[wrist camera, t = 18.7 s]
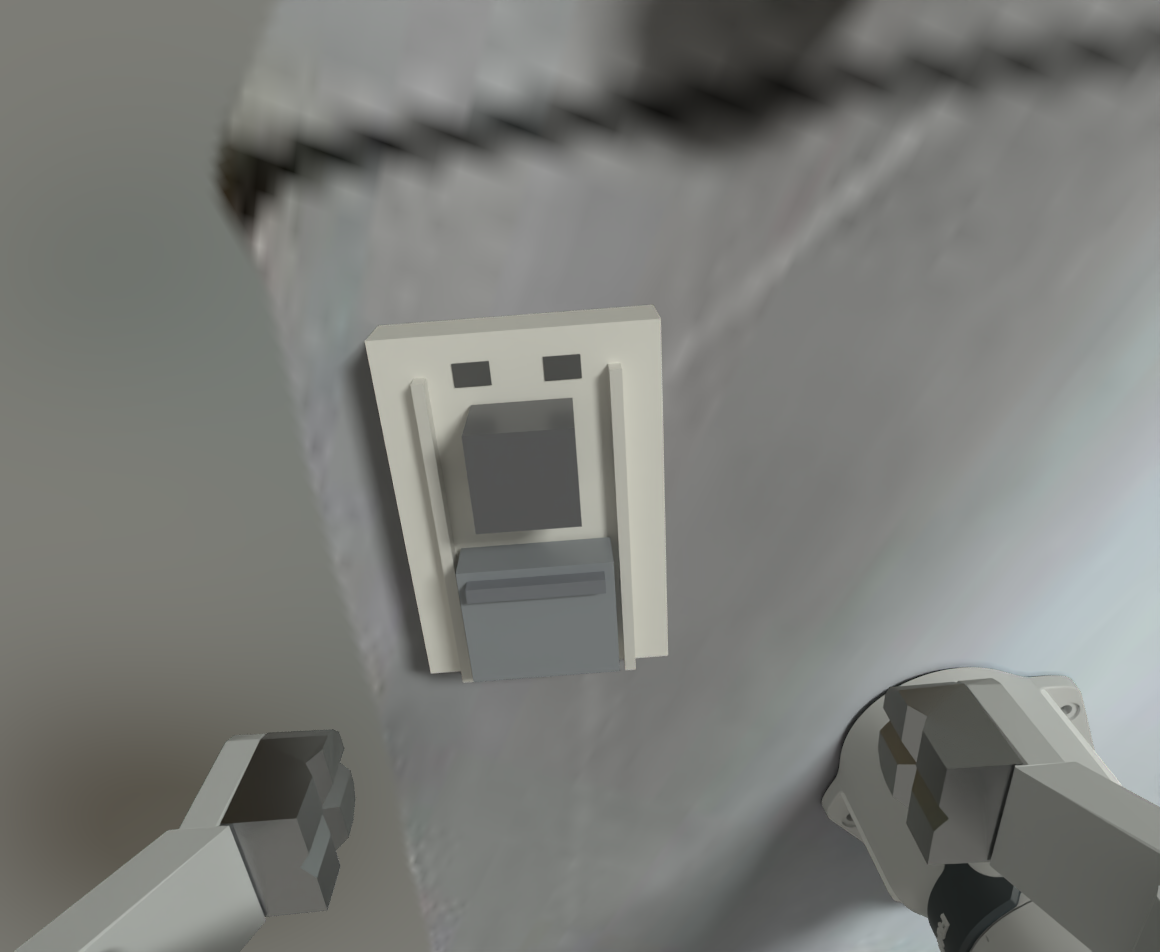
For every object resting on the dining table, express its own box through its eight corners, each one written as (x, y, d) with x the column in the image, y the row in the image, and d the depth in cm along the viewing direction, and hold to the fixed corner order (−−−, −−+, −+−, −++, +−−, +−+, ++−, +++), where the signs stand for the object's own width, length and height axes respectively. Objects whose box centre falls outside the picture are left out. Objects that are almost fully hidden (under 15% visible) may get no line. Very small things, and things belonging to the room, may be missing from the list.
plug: (577, 463, 41) (581, 526, 35) (488, 469, 41) (476, 534, 35) (571, 377, 39) (574, 427, 32) (476, 384, 39) (461, 436, 32)
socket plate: (661, 624, 46) (670, 666, 42) (438, 641, 46) (428, 685, 42) (653, 304, 37) (663, 323, 34) (378, 325, 37) (359, 347, 34)
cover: (616, 642, 42) (621, 680, 39) (477, 652, 42) (472, 692, 39) (610, 536, 39) (614, 570, 36) (461, 548, 39) (453, 582, 36)
